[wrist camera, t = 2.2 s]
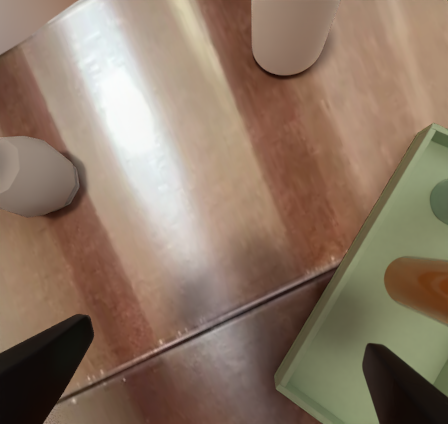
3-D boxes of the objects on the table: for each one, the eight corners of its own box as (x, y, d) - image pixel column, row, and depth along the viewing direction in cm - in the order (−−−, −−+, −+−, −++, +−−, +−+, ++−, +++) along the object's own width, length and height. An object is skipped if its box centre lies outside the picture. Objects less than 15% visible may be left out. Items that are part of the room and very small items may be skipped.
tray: (390, 460, 20) (406, 486, 18) (273, 375, 22) (275, 389, 20) (543, 190, 21) (575, 185, 19) (417, 132, 23) (433, 122, 21)
